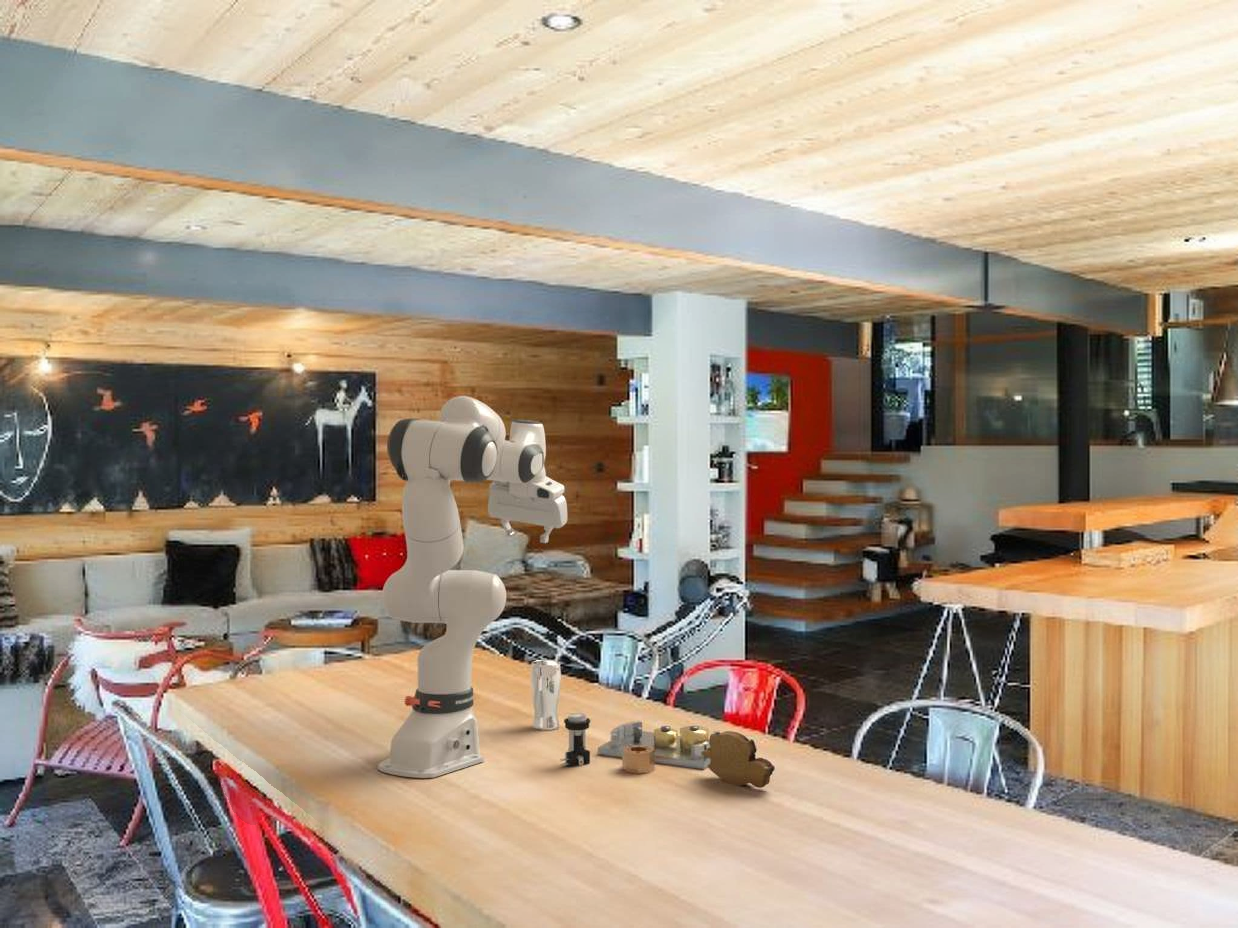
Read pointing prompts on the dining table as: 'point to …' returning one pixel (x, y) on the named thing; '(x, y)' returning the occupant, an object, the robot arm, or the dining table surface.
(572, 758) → the push button
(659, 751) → the carrier
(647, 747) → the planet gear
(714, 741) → the wooden carving
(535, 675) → the beer glass
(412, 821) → the dining table surface
